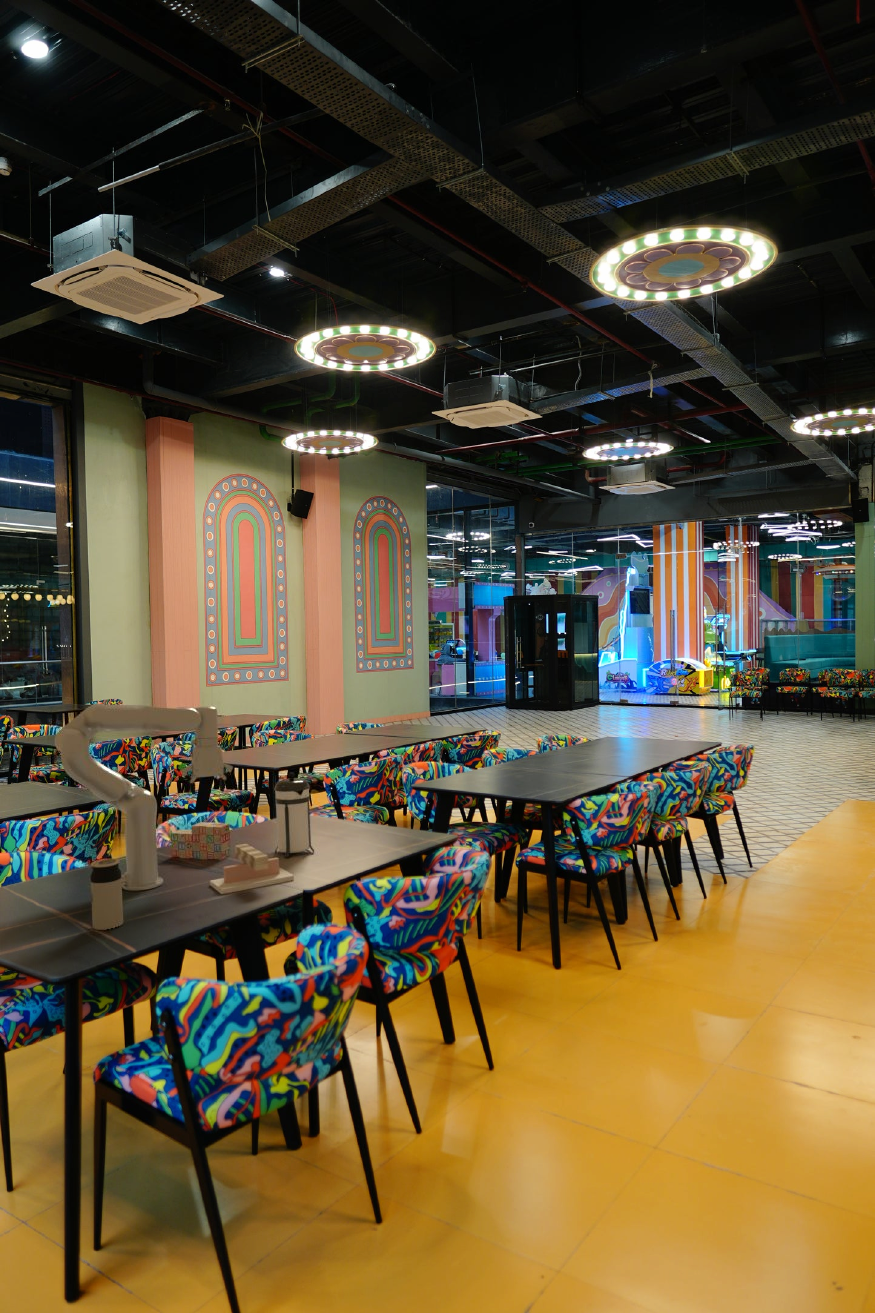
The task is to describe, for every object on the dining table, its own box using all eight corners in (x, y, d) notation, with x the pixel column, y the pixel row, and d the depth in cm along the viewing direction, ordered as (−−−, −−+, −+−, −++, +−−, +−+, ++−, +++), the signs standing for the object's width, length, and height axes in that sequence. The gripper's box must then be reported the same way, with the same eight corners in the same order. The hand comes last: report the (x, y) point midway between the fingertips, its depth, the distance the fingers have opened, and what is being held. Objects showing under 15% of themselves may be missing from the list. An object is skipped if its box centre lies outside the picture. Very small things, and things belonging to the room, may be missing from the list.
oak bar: (235, 857, 277) (235, 845, 277) (247, 855, 280) (246, 843, 279) (255, 870, 260) (255, 857, 260) (268, 868, 263) (267, 855, 262)
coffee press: (322, 848, 312) (319, 768, 312) (304, 859, 297) (301, 775, 296) (280, 846, 317) (277, 768, 317) (260, 857, 302) (257, 775, 301)
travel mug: (127, 920, 237) (124, 857, 236) (117, 930, 229) (114, 865, 228) (99, 921, 237) (96, 858, 236) (88, 931, 229) (85, 866, 228)
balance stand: (221, 894, 259) (220, 873, 259) (210, 885, 269) (209, 865, 269) (294, 880, 271) (293, 860, 271) (280, 872, 282) (279, 853, 281)
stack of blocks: (171, 858, 306) (169, 824, 306) (181, 853, 312) (179, 821, 312) (221, 860, 300) (220, 826, 300) (231, 856, 306) (229, 822, 306)
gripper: (183, 745, 277) (184, 797, 277) (234, 741, 285) (235, 791, 285) (178, 743, 283) (179, 793, 283) (228, 740, 291) (230, 788, 292)
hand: (207, 792), depth 284 cm, fingers open, 9 cm apart
